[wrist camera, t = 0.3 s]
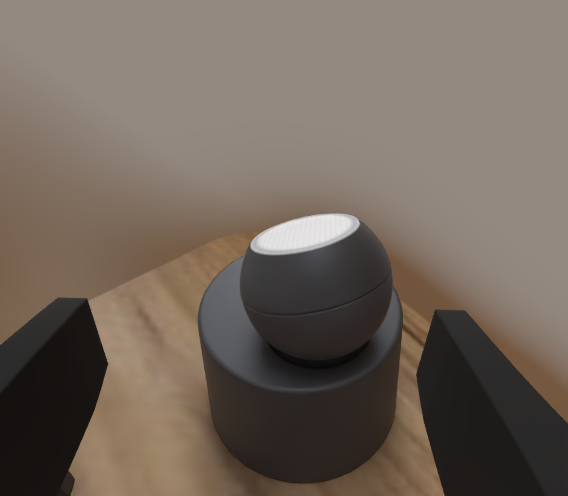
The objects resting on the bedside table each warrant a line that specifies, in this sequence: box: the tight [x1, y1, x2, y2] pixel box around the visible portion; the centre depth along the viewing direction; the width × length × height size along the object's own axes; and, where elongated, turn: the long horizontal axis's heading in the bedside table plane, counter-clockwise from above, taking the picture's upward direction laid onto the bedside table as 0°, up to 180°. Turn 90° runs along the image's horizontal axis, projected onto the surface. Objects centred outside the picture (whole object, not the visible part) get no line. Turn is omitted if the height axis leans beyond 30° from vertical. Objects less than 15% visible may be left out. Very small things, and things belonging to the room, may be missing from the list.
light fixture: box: [198, 214, 403, 483], centre depth 28 cm, size 13×16×14 cm
